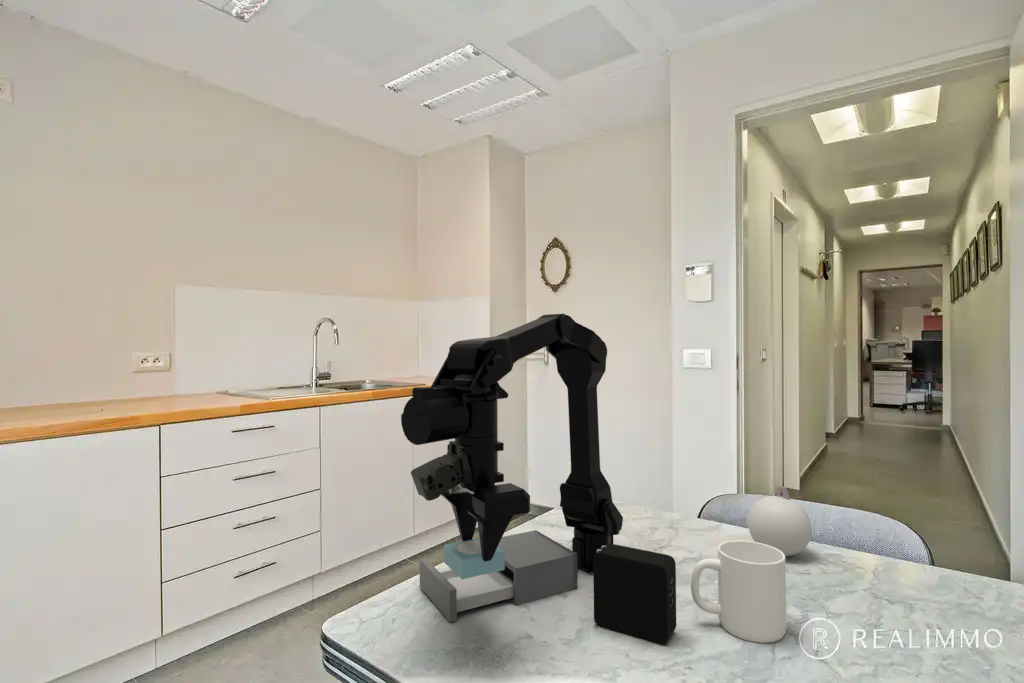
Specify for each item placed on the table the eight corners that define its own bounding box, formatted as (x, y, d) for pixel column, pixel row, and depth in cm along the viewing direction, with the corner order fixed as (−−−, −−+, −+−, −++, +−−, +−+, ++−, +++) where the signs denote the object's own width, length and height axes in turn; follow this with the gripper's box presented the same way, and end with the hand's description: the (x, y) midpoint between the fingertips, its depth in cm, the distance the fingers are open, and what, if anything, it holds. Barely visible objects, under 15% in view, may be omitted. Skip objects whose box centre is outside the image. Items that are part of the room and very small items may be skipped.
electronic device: (667, 647, 67) (666, 567, 67) (593, 625, 72) (592, 551, 72) (676, 632, 70) (675, 556, 71) (605, 612, 76) (604, 542, 76)
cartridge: (484, 554, 75) (484, 536, 75) (504, 569, 69) (504, 550, 69) (444, 562, 72) (444, 543, 72) (462, 579, 66) (462, 558, 66)
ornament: (813, 550, 98) (812, 484, 98) (809, 570, 90) (808, 498, 90) (753, 539, 104) (752, 477, 104) (744, 557, 95) (743, 490, 95)
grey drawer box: (536, 560, 94) (535, 530, 94) (577, 588, 83) (577, 553, 83) (479, 574, 89) (479, 541, 89) (516, 605, 78) (516, 568, 78)
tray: (483, 571, 89) (483, 546, 89) (520, 602, 78) (520, 573, 78) (419, 586, 84) (419, 559, 84) (449, 621, 73) (449, 590, 73)
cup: (797, 646, 67) (796, 565, 67) (698, 640, 68) (697, 561, 68) (772, 613, 75) (771, 541, 75) (684, 609, 77) (684, 538, 77)
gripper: (396, 429, 75) (396, 541, 75) (445, 452, 59) (446, 594, 59) (468, 424, 81) (468, 527, 80) (532, 443, 64) (532, 573, 64)
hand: (476, 552), depth 71 cm, fingers closed on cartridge, 6 cm apart
